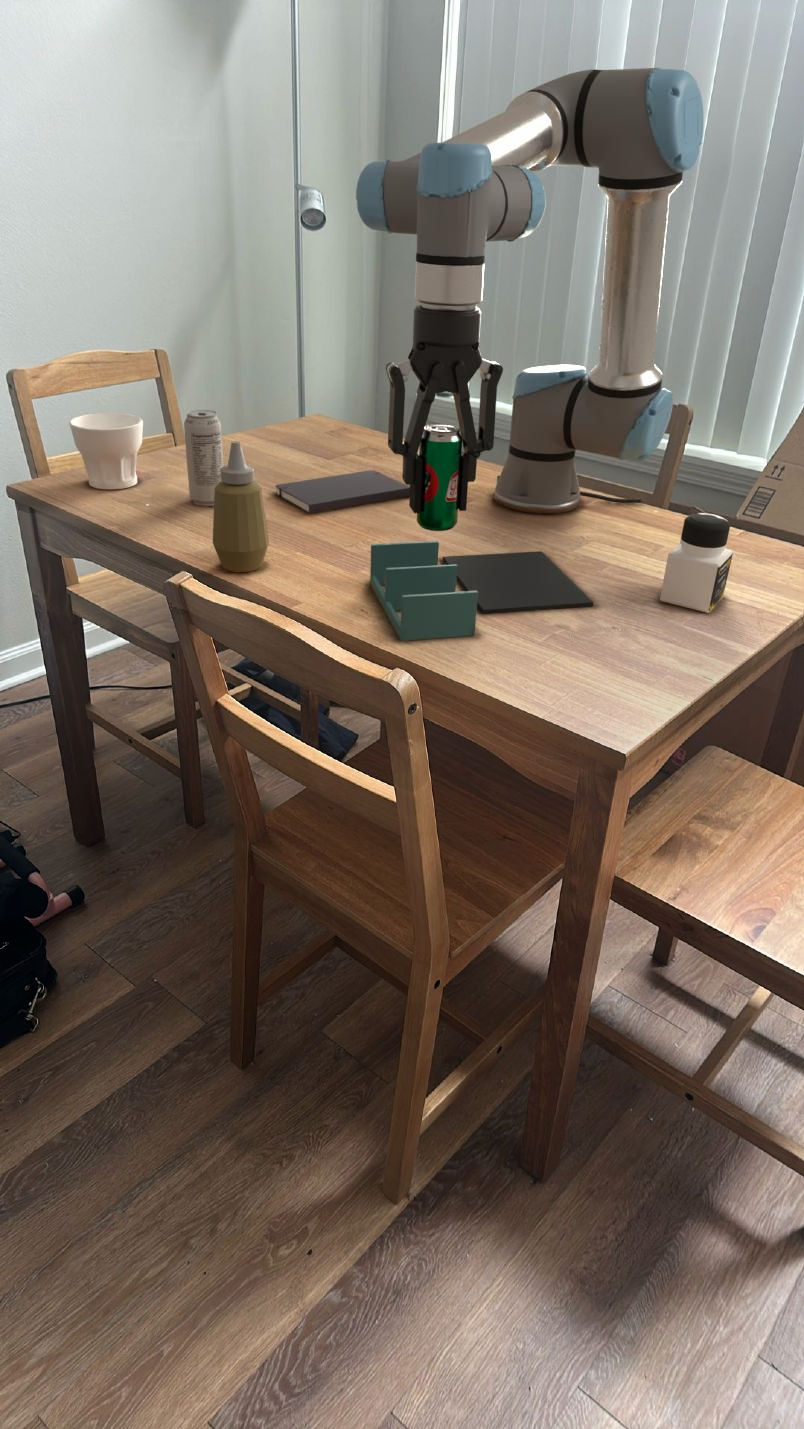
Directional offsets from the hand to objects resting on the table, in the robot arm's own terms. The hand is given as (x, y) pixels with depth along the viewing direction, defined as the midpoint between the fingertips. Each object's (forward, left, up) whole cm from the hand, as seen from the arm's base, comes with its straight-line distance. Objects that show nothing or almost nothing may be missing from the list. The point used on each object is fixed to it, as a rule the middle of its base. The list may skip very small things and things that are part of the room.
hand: (437, 508), depth 117 cm
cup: (+42, -67, -15) cm, 80 cm away
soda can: (0, 0, -2) cm, 2 cm away
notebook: (+2, -55, -15) cm, 57 cm away
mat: (-15, -11, -15) cm, 24 cm away
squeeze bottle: (+23, -23, -15) cm, 36 cm away
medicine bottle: (-38, -1, -15) cm, 42 cm away
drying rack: (+1, -4, -15) cm, 16 cm away
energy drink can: (+26, -54, -15) cm, 62 cm away
